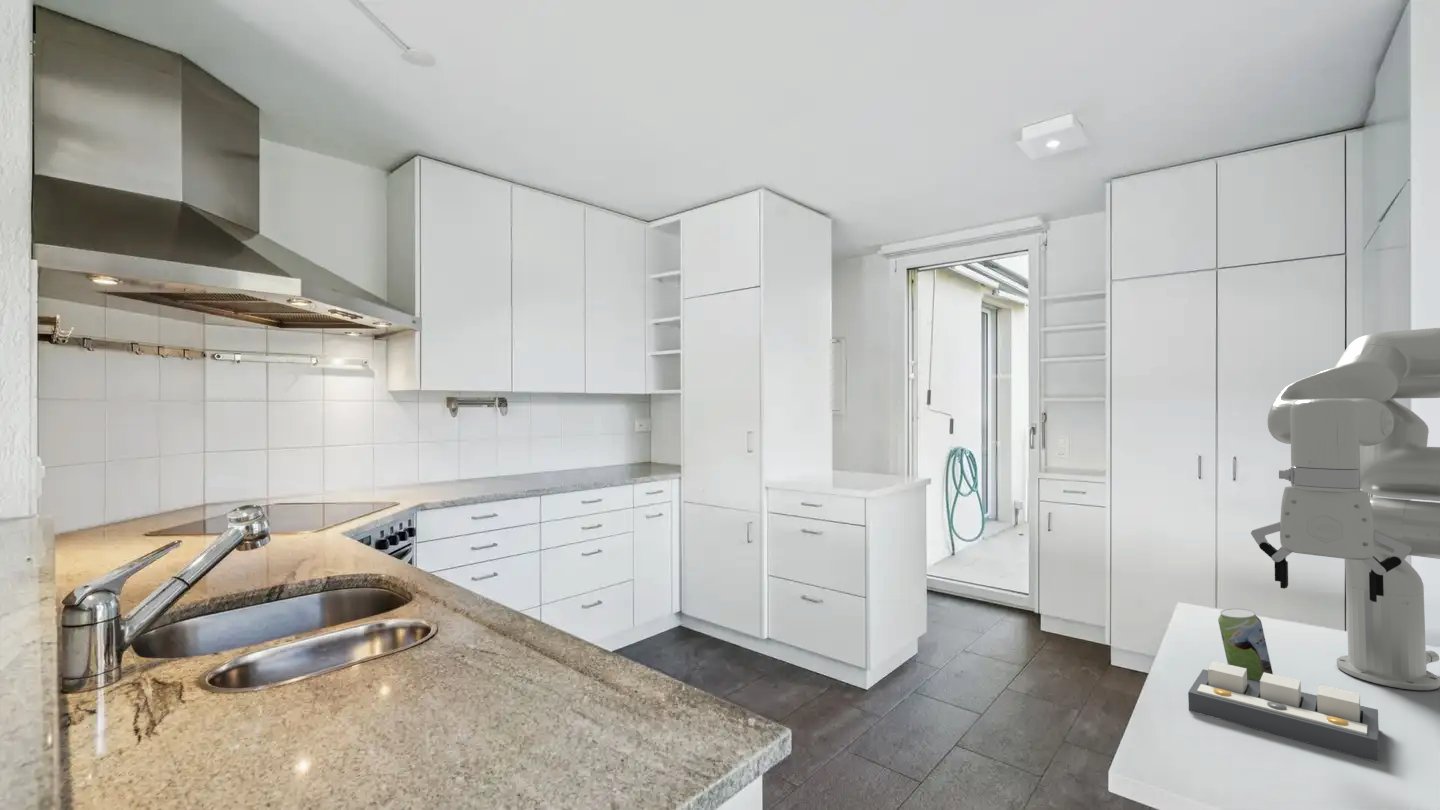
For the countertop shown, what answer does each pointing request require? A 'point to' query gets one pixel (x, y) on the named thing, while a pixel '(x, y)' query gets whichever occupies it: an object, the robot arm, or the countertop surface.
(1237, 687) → the left key
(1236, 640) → the beverage can
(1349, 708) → the right key
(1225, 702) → the board
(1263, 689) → the middle key
